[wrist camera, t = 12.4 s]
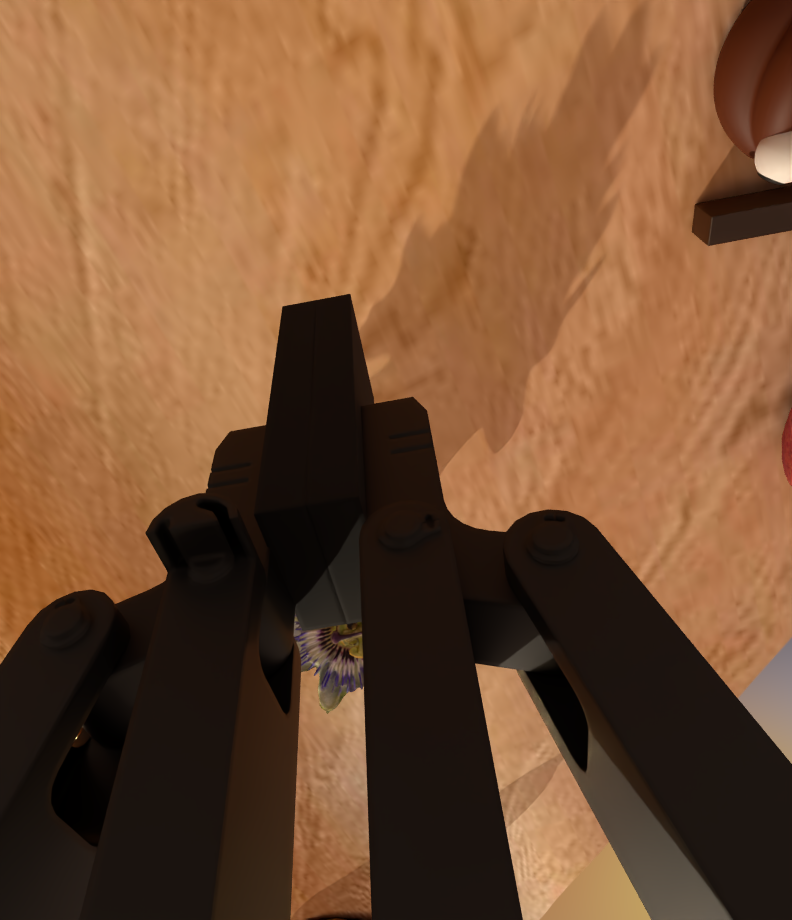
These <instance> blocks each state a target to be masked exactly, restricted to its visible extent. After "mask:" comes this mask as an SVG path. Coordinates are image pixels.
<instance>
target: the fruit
mask: <svg viewBox="0 0 792 920" xmlns="http://www.w3.org/2000/svg"><path fill="white" fill-rule="evenodd" d="M782 462H783V467H784V472H785V475H786V477H787V480H788V482H789V483H790V485H791V486H792V408H791V410H790V413H789V416H788V419H787V421H786V424H785V428H784V431H783V434H782Z"/></svg>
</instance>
